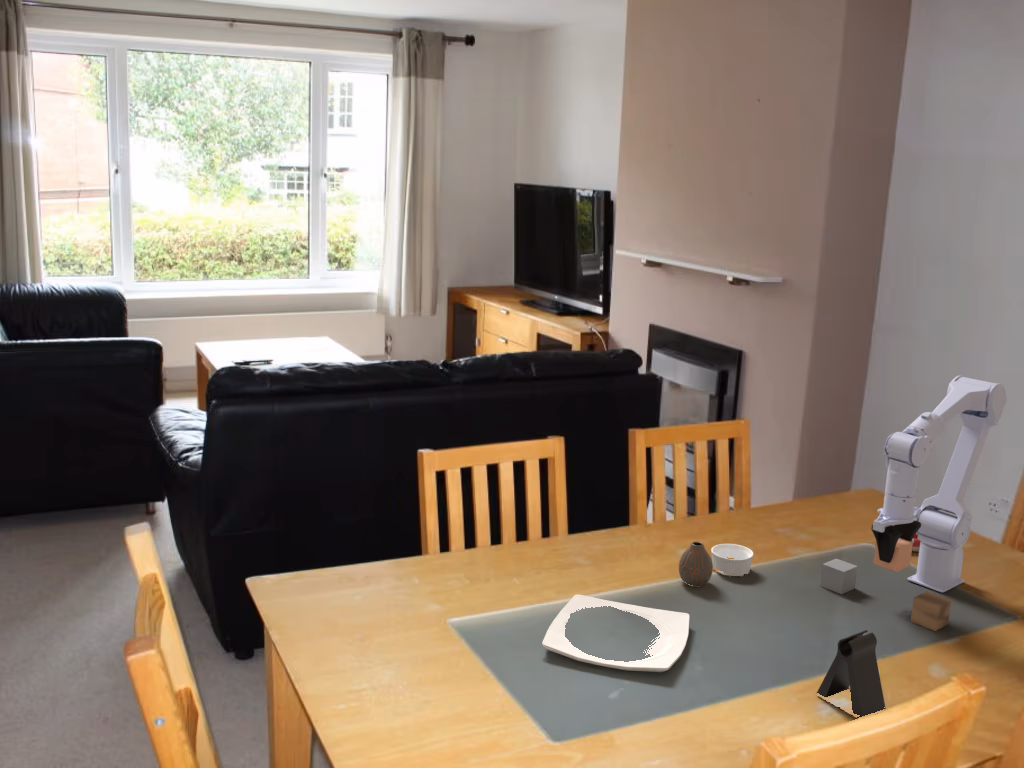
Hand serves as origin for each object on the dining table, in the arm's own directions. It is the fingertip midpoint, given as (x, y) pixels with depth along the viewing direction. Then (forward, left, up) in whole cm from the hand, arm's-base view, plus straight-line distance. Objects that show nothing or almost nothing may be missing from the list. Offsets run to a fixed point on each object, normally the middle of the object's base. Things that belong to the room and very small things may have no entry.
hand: (892, 557), depth 197 cm
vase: (+25, -29, -10) cm, 39 cm away
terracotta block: (0, 0, -2) cm, 2 cm away
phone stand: (+41, +17, -10) cm, 45 cm away
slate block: (+2, -10, -10) cm, 14 cm away
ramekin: (+13, -29, -10) cm, 33 cm away
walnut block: (+2, +10, -10) cm, 14 cm away
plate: (+56, -21, -10) cm, 61 cm away
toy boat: (-33, -12, -10) cm, 36 cm away
